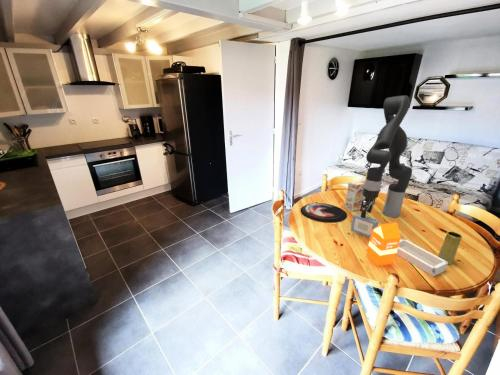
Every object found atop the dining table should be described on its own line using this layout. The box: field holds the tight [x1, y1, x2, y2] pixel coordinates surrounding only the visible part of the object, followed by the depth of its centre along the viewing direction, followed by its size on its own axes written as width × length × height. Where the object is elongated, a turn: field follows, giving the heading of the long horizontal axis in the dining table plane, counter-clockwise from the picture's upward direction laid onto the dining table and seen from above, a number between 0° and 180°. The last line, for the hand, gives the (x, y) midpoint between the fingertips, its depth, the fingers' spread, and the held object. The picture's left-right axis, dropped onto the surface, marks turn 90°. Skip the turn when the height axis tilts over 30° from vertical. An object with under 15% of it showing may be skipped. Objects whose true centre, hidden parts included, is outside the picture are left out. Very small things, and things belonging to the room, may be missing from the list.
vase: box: [437, 231, 463, 265], centre depth 107 cm, size 6×6×14 cm
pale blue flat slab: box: [350, 212, 379, 239], centre depth 129 cm, size 4×12×10 cm, turn 45°
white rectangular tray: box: [396, 238, 449, 277], centre depth 109 cm, size 9×20×4 cm, turn 25°
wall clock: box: [300, 202, 348, 223], centre depth 154 cm, size 27×5×30 cm
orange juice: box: [365, 221, 402, 267], centre depth 106 cm, size 8×9×20 cm
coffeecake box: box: [343, 178, 366, 213], centre depth 157 cm, size 15×7×20 cm, turn 120°
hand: (365, 215), depth 126 cm, fingers open, 8 cm apart
